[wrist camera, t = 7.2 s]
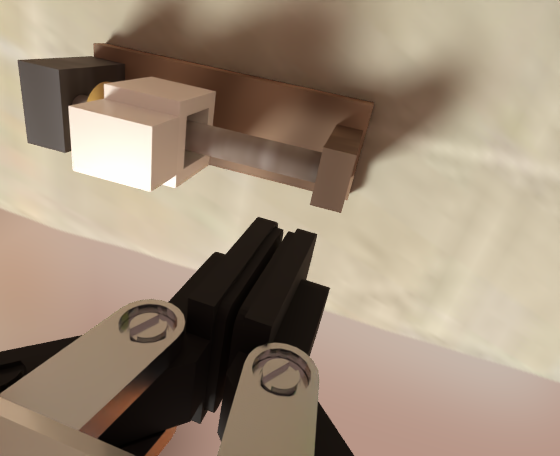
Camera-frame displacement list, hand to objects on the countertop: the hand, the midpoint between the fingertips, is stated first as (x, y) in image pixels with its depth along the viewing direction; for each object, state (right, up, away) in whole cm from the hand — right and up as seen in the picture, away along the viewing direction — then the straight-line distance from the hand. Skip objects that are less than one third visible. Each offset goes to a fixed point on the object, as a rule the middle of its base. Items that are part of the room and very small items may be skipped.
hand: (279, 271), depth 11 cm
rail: (-3, +9, +15) cm, 18 cm away
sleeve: (-6, +8, +13) cm, 16 cm away
